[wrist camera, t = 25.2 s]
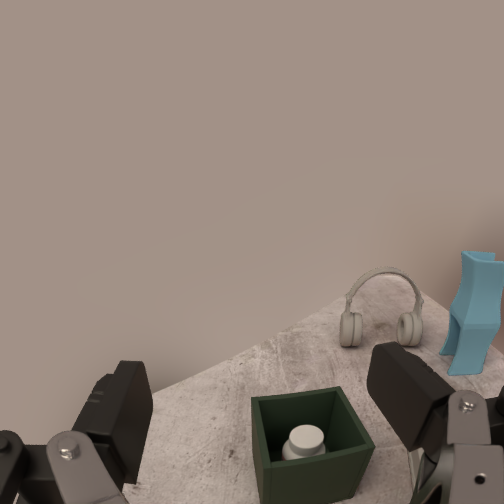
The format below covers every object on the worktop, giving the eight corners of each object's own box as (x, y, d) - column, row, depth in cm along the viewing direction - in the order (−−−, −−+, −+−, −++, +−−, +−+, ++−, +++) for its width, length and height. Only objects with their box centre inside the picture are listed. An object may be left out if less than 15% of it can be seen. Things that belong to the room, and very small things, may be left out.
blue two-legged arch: (484, 373, 44) (513, 263, 39) (448, 375, 47) (475, 260, 42) (472, 352, 53) (493, 252, 48) (439, 352, 56) (459, 250, 51)
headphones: (410, 336, 67) (422, 264, 63) (419, 351, 59) (434, 274, 55) (338, 336, 71) (344, 262, 67) (339, 352, 63) (348, 272, 59)
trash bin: (262, 515, 24) (263, 468, 22) (252, 452, 36) (250, 396, 33) (352, 497, 25) (375, 446, 23) (328, 442, 37) (340, 385, 34)
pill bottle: (271, 473, 31) (273, 434, 29) (300, 455, 34) (306, 414, 32) (298, 495, 27) (306, 458, 25) (326, 474, 30) (338, 435, 28)
